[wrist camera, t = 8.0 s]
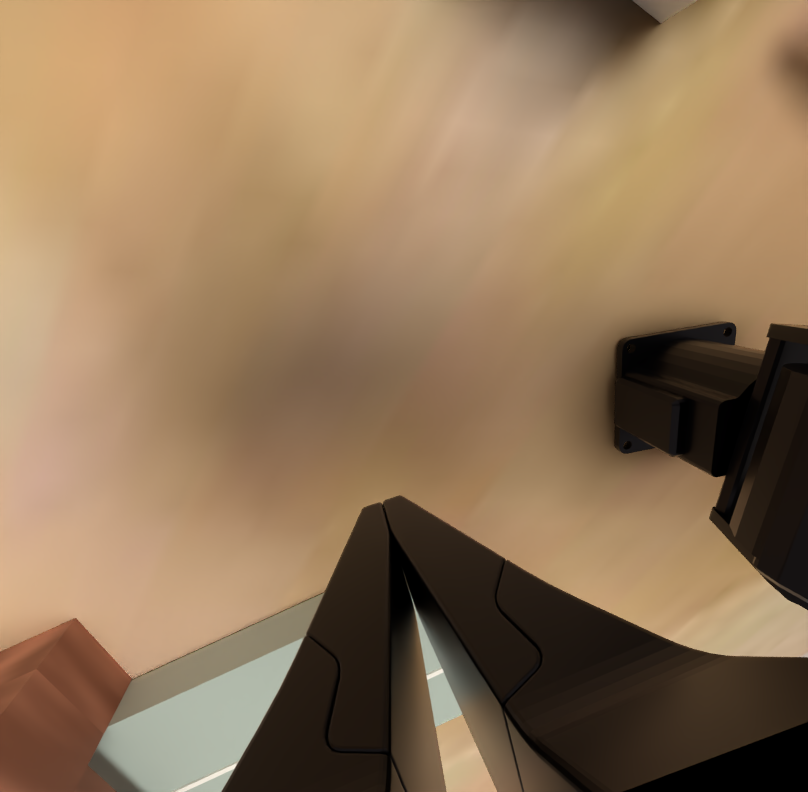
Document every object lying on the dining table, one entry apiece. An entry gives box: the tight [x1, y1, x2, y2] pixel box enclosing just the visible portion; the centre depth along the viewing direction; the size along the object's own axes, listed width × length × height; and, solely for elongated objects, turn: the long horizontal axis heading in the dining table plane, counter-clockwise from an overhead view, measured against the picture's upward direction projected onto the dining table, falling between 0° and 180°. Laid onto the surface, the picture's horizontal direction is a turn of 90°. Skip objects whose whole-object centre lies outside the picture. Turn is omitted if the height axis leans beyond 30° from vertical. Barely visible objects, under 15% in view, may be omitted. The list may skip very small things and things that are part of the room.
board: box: [88, 584, 463, 792], centre depth 23 cm, size 22×10×3 cm, turn 113°
